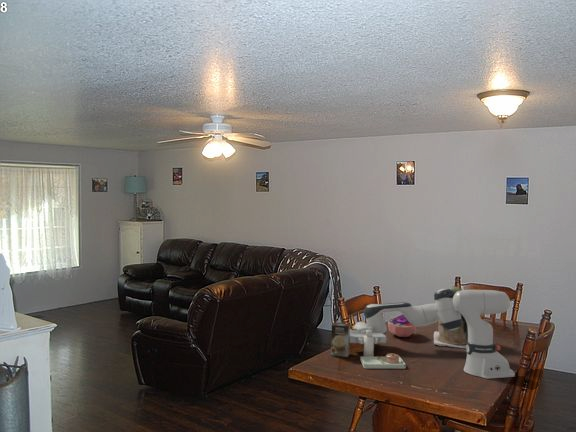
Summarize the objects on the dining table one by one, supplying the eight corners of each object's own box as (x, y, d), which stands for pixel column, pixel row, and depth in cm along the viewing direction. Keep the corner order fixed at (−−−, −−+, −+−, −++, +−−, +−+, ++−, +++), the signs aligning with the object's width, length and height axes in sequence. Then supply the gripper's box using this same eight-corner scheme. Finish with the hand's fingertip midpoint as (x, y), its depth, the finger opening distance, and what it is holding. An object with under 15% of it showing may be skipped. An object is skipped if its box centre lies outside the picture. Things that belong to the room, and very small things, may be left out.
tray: (399, 360, 257) (399, 356, 257) (405, 368, 245) (405, 364, 245) (360, 360, 257) (360, 356, 256) (364, 368, 245) (364, 363, 244)
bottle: (372, 356, 264) (373, 329, 263) (374, 359, 259) (374, 331, 258) (362, 356, 264) (363, 329, 263) (364, 359, 259) (365, 331, 258)
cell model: (386, 339, 295) (386, 320, 294) (388, 330, 314) (388, 312, 314) (416, 341, 291) (416, 322, 290) (416, 332, 310) (416, 314, 310)
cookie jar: (433, 346, 283) (434, 289, 282) (433, 334, 306) (434, 282, 305) (480, 350, 276) (481, 291, 274) (477, 338, 299) (478, 284, 298)
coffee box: (330, 355, 264) (330, 324, 263) (332, 352, 270) (333, 322, 270) (348, 357, 262) (348, 326, 261) (349, 353, 268) (350, 323, 267)
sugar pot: (397, 362, 254) (397, 351, 254) (400, 366, 248) (400, 355, 247) (384, 362, 254) (384, 351, 254) (387, 366, 248) (387, 355, 247)
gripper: (383, 341, 274) (389, 348, 260) (345, 341, 274) (349, 348, 260) (383, 329, 274) (389, 336, 260) (346, 329, 273) (349, 336, 260)
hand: (369, 342), depth 260 cm, fingers open, 5 cm apart
